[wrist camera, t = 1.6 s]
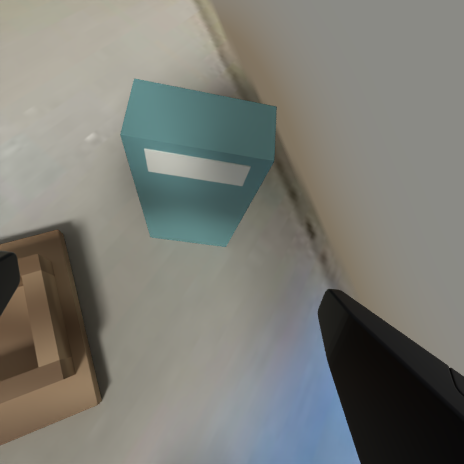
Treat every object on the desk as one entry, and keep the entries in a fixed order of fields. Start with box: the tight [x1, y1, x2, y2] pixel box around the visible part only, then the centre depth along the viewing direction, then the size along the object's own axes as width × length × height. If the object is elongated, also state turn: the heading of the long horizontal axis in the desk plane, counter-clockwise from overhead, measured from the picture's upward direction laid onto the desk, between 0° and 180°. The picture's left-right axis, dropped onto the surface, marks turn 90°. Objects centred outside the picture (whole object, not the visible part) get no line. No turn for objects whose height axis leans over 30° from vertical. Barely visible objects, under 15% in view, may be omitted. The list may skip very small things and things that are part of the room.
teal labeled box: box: [120, 79, 277, 247], centre depth 17 cm, size 3×6×12 cm, turn 85°
